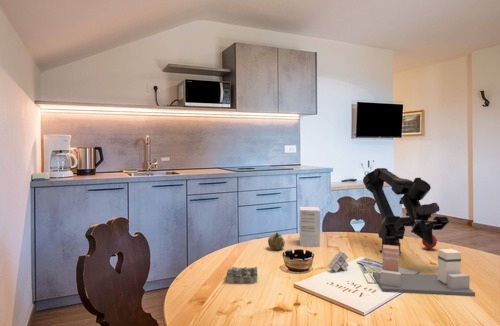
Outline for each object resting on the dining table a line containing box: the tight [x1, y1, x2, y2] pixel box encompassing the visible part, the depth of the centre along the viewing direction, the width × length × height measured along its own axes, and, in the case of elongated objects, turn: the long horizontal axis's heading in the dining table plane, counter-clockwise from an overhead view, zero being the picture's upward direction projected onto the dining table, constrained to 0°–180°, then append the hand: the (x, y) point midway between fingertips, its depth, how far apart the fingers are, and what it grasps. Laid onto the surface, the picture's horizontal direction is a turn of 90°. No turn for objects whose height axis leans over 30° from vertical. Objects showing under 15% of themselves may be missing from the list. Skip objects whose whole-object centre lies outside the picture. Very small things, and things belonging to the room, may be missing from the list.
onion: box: [421, 233, 438, 250], centre depth 153 cm, size 6×6×8 cm
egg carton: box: [225, 266, 258, 284], centre depth 118 cm, size 11×8×4 cm
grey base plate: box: [372, 269, 476, 297], centre depth 113 cm, size 14×27×5 cm, turn 83°
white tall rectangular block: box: [437, 248, 462, 284], centre depth 113 cm, size 4×5×10 cm
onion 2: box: [267, 232, 286, 251], centre depth 154 cm, size 8×8×8 cm
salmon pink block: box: [381, 245, 400, 272], centre depth 117 cm, size 4×5×10 cm
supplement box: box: [299, 206, 321, 248], centre depth 162 cm, size 10×9×17 cm
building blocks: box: [327, 251, 349, 273], centre depth 128 cm, size 5×5×8 cm
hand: (431, 244), depth 122 cm, fingers closed
